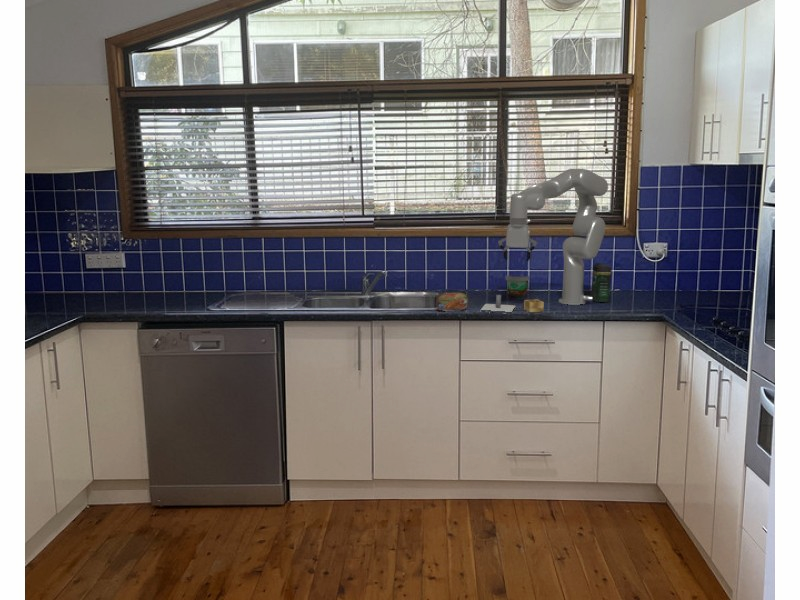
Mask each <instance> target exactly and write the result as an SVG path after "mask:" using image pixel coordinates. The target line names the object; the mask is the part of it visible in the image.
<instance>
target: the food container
mask: <svg viewBox="0 0 800 600" xmlns="http://www.w3.org/2000/svg"><path fill="white" fill-rule="evenodd" d="M530 278H531V277H530V275H527V276H519V275H515V276H511V275H508V274H506V276H505V279H504V280H506V288H507V289H506V290H507V295H508V296H512V297H524V296H527V293H528V284H529V281H530V280H531V279H530Z"/></svg>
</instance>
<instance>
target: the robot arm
mask: <svg viewBox="0 0 800 600" xmlns="http://www.w3.org/2000/svg"><path fill="white" fill-rule="evenodd" d="M573 188H574V191H575V193H576V195H577V198H578V208H577V211H576V214H575V217H574V221H573V223H572V227H571V228H572V232H573V234H575V235H577V237H576V236H571V237H567V238H566V239H565V240H564V241H563V243H562V254H563V255H562V256H563V273H562V274H563V275H562V276H563V277H562V294H561V296H562V297H560V298H559V299H558V303H560V304H563V305H567V304H568V305H567V306H581V305H580V304H583V305H585V304H587V302H586V301H593V300H592V296H591V295H584V279H585V263H584V260H592V259H595V258H596V257H597V255H598V253H599V251H600V248H601V245H602V242H603V239H604V236H605V233H606V222H605V221H604V219H603V218H602V217H599V216H596V215H597V211H598V204H597V200H596V198H595V197H602V196H604V195H605V194H606V193H607V192H608V189H609V183H608V181H607V180H606V179H605V178H604V177H603V176H601V175H599V174H596V173H595V172H593V171H591V170H589V169H586V168H585V169H584V168H569V169H566V170H564V171H563V172H561V173H559V174H558V175H556V176H554V177H552V178H551V179H549V180H546V181H543V182H540V183H536V184H533V185H531V186H529V187H527V188H525V189H523V190H522V191H520V192H519V193H513V194H511V196H510V204H509V205H510V206H509V208H510V209H509V224H508V225H507V229H506V237H504V238H502V239H500V240H498V241H497V243H498V245H499V248H500V249H501V250H502V251H503V259H504V260H505V261H507V260H508V249H509V248H518V249H519V248H520V249H526V250H527V252H526V262H529V260H531V255H532V254H531V252H533V250H534V249H536V247H537V245H538V242H537V241H536V240H534V239H532V238H530V226H529V224H530V223H531V219H528V210H530V211H539V210H542V209H543V208H544V207H545V205H546V200H547V199H549V200H550V199H555V198H558V197H560V196H561V195H563V194H565V193H567V192H568V191H570V190H572V189H573ZM578 236H581V237H578ZM583 237H585V238H583ZM504 242H505V246H504V245H503V243H504ZM530 243H532V246H531V247H530Z"/></svg>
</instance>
